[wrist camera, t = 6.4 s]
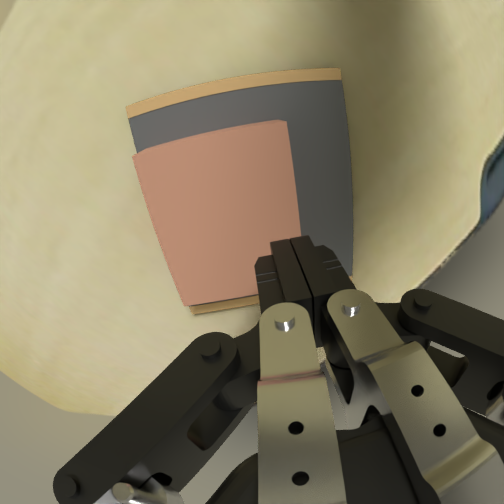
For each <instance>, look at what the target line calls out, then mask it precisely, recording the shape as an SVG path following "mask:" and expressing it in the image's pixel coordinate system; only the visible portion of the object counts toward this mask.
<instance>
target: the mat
mask: <svg viewBox="0 0 504 504" xmlns="http://www.w3.org/2000/svg"><path fill="white" fill-rule="evenodd" d="M126 111H127V115H128V119H129V123H130V127H131V131H132V135H133V139H134V143H135V147H136V151H137V153H139V152H141V151H143V150H144V149H146V148H150V147H153V146H156V145H160V144H163V143H167V142H170V141H174V140H178V139H182V138H186V137H190V136H194V135H198V134H202V133H206V132H211V131H216V130H220V129H225V128H230V127H235V126H241V125H246V124H252V123H258V122H264V121H271V120H282V121H287V128H288V134H289V141H290V148H291V155H292V162H293V170H294V177H295V185H296V193H297V202H298V211H299V220H300V230H301V236H304V235H308V236H309V237H310V239H311V241H312V243H313V244H314V246H320V245H325V246H326V247H328V248H329V249H331V250H333V252H334V253H335V255H336V256H337V258H338V260H339V261H340V263H341V264H342V267H343V268H344V269H345V271H346V273H347V274H348V276H349V278H350V279H351V281H352V264H353V195H352V172H351V157H350V144H349V133H348V124H347V115H346V107H345V99H344V92H343V85H342V77H341V71H340V68H313V69H296V70H284V71H274V72H265V73H258V74H251V75H244V76H238V77H232V78H227V79H222V80H217V81H212V82H207V83H203V84H199V85H194V86H190V87H187V88H183V89H179V90H175V91H172V92H168V93H165V94H162V95H158V96H155V97H152V98H149V99H146V100H143V101H140V102H137V103H134V104H131V105H129V106H126ZM258 303H260V301H259V295H258V294H254V295H249V296H243V297H238V298H232V299H226V300H220V301H214V302H208V303H202V304H196V305H189V308H190V310H191V312H192V314H198V313H205V312H211V311H217V310H223V309H229V308H235V307H241V306H247V305H252V304H258Z"/></svg>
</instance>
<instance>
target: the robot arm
mask: <svg viewBox="0 0 504 504" xmlns="http://www.w3.org/2000/svg"><path fill="white" fill-rule="evenodd" d="M270 249H271V255H267V256H262V257H258V259H257V261H256V263H255V265H254V268H255V274H256V281H257V288H258V295H259V301H260V308H261V317H260V320H259V322H258V323H257V325H256V326H255V327H254V328H253V329H252V330H250V331H249V332H247V333H245V334H243V335H241V336H238V337H236V338H234V339H233V338H232V337H231V336H229V335H228V334H225V333H221V332H211V333H206V334H204V335H201V336H199V337H198V338H196V339H195V340H194V341H193V342H192V343H191V344H190V345H189V346H188V347H187V348H186V349H185V350H184V351H183V352H182V353H181V354H180V355H179V356H178V357H177V358H176V359H175V360H174V361H173V362H172V363H171V364H170V365H169V366H168V367H167V368H166V369H165V370H164V371H163V372H162V373H161V374H160V375H159V376H158V377H157V378H156V379H155V380H153V381H152V382H151V383H150V384H149V385H148V386H147V387H146V388H145V389H144V390H143V391H142V392H141V393H140V394H139V395H138V396H137V397H136V398H135V399H134V400H133V401H132V402H131V403H130V404H129V405H128V406H127V407H126V408H125V409H124V410H123V411H122V412H121V413H120V414H118V415H117V416H116V418H114V419H113V420H112V421H111V422H110V423H109V424H108V425H107V426H106V427H105V428H104V429H103V430H102V431H101V432H100V433H99V434H97V435H96V436H95V437H94V438H93V439H92V440H91V441H90V442H89V443H88V444H87V445H86V446H85V447H84V448H82V449H81V450H80V451H79V452H78V453H77V454H76V455H75V456H74V457H73V458H72V459H71V460H70V461H68V462H67V463H66V464H65V465H64V466H63V467H62V468H61V469H60V470H59V471H58V472H57V474H56V475H55V477H54V481H53V490H54V494H55V497H56V499H57V501H58V502H59V504H184V502H183V499H182V497H181V495H180V494H179V492H180V491H181V490H182V489H183V488H184V487H185V486H186V485H187V483H188V482H189V481H190V480H191V479H192V478H193V477H194V476H195V475H196V474H197V473H198V472H199V470H200V469H201V468H202V467H203V466H204V465H205V464H206V463H207V461H208V460H209V459H210V458H211V457H212V456H213V455H214V453H215V452H216V451H217V450H218V449H219V448H220V446H221V445H222V444H223V443H224V442H225V440H226V439H227V438H228V437H229V435H230V434H231V433H232V432H233V431H234V429H235V428H236V427H237V426H238V424H239V423H240V422H241V420H242V419H243V418H244V416H245V415H246V414H247V413H248V411H249V410H250V409H251V407H252V406H253V403H254V402H256V401H257V408H258V411H257V414H258V453H256V454H254V455H252V456H251V457H249V458H247V459H246V460H244V461H243V462H242V463H241V464H239V465H238V466H237V467H236V468H235V469H234V470H233V471H232V472H231V473H230V474H229V476H228V477H227V478H226V479H225V480H224V482H223V483H222V484H221V485H220V487H219V488H218V489H217V490H216V492H215V493H214V494H213V495H212V496H211V498H210V499H209V500H208V501H207V502H206V503H205V504H504V320H502V319H499V318H497V317H494V316H492V315H489V314H487V313H484V312H482V311H480V310H477V309H475V308H472V307H470V306H467V305H465V304H462V303H460V302H457V301H454V300H452V299H449V298H447V297H444V296H442V295H439V294H437V293H434V292H431V291H429V290H425V289H413V290H410V291H408V292H406V293H405V294H404V295H403V296H402V298H401V302H400V303H377V302H374V301H373V299H372V298H371V297H370V296H369V295H368V294H367V293H365V292H363V291H360V290H357V289H356V288H355V286H354V284H353V283H352V281H351V279H350V278H349V276H348V274H347V273H346V271H345V269H344V268H343V267H342V264H341V263H340V261H339V260H338V258H337V256H336V255H335V253H334V252H333V250H331V249H329V248H328V247H326V246H325V245H320V246H314V244H313V243H312V241H311V239H310V237H309V236H308V235H304V236H299V237H294V238H289V239H283V240H278V241H272V242H270ZM431 341H433V342H435V343H438V344H440V345H442V346H445V347H447V348H449V349H451V350H454V351H456V352H459V353H461V354H463V355H465V356H464V357H462V358H458V357H454V356H452V355H450V354H448V353H446V352H443V351H441V350H439V349H436V348H434V347H432V346H430V342H431ZM318 347H324V350H325V353H326V367H327V369H328V372H329V374H330V376H331V379H332V381H333V383H334V386H335V388H336V391H337V393H338V395H339V398H340V400H341V403H342V405H343V407H344V411H345V417H346V424H347V428H348V430H336V429H335V424H334V418H333V413H332V408H331V402H330V397H329V392H328V387H327V382H326V378H325V374H324V372H321V369H320V364H319V359H318V354H317V350H316V348H318ZM463 406H464V407H463ZM465 407H466V408H465ZM467 408H468V409H467ZM469 409H470V410H469ZM471 410H473V411H475V412H477V413H480V414H483V415H485V416H486V417H484V416H482V415H479V414H477V413H475V412H473V411H471Z"/></svg>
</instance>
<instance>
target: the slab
mask: <svg viewBox="0 0 504 504" xmlns="http://www.w3.org/2000/svg"><path fill="white" fill-rule="evenodd" d="M132 158H133V161H134V165H135V168H136V172H137V175H138V179H139V182H140V185H141V189H142V192H143V195H144V198H145V202H146V205H147V208H148V211H149V214H150V217H151V220H152V223H153V226H154V229H155V231H156V234H157V237H158V240H159V243H160V246H161V248H162V251H163V254H164V256H165V259H166V262H167V264H168V267H169V270H170V272H171V275H172V277H173V280H174V282H175V285H176V287H177V290H178V292H179V295H180V297H181V300H182V302H183V304H184V306H189V305H196V304H202V303H208V302H214V301H220V300H226V299H232V298H238V297H243V296H249V295H254V294H258V288H257V281H256V274H255V268H254V265H255V263H256V261H257V259H258V257H262V256H267V255H271V249H270V242H272V241H278V240H283V239H289V238H294V237H299V236H301V230H300V220H299V211H298V202H297V193H296V185H295V177H294V170H293V162H292V155H291V148H290V141H289V134H288V128H287V121H282V120H271V121H264V122H258V123H252V124H246V125H241V126H235V127H230V128H225V129H220V130H216V131H211V132H206V133H202V134H198V135H194V136H190V137H186V138H182V139H178V140H174V141H170V142H167V143H163V144H160V145H156V146H153V147H150V148H146V149H144V150H143V151H141V152H139V153H137V154H135V155H133V156H132Z"/></svg>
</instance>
